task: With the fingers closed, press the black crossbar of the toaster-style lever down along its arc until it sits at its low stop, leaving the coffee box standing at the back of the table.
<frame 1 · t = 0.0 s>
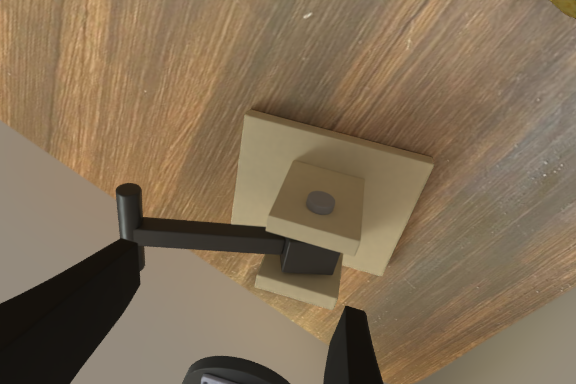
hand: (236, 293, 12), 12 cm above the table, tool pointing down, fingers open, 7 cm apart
bracket: (321, 194, 24), on the table
lever: (232, 237, 19), point 6 cm above the table, hinge at 18.0°
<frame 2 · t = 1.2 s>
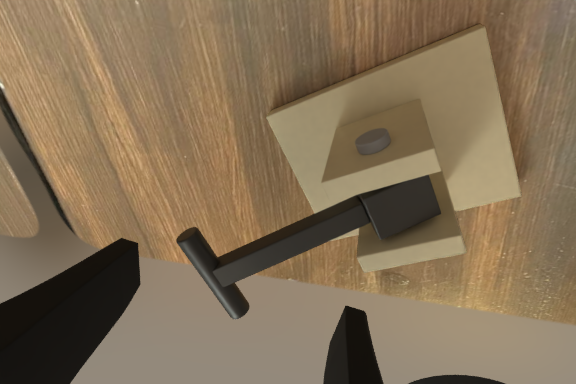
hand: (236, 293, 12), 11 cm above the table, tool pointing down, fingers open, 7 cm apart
bracket: (390, 148, 20), on the table
lever: (310, 232, 17), point 6 cm above the table, hinge at 18.0°
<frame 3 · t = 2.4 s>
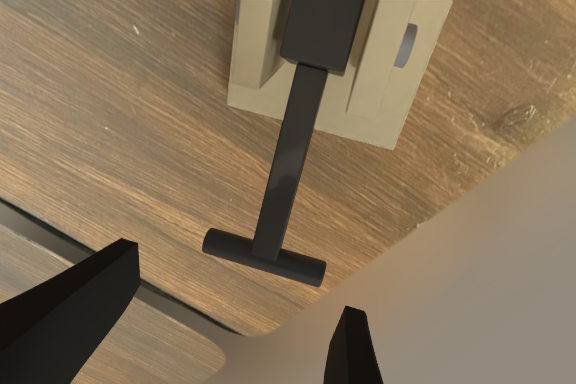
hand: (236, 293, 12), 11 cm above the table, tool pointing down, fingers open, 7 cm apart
bracket: (338, 10, 17), on the table
lever: (294, 140, 14), point 6 cm above the table, hinge at 18.0°
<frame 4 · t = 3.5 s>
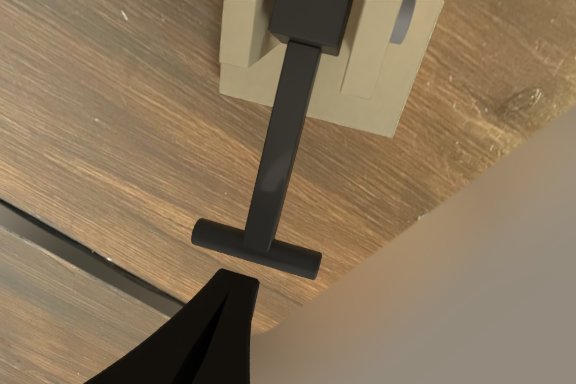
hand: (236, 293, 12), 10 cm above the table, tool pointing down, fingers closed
lever: (286, 124, 13), point 6 cm above the table, hinge at 18.0°
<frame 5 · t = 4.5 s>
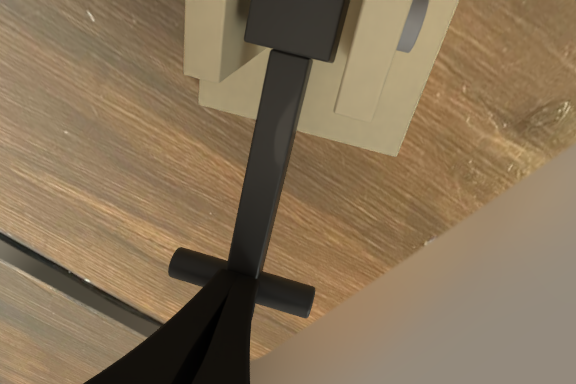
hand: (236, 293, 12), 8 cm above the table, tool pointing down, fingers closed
lever: (272, 146, 11), point 6 cm above the table, hinge at 13.1°, touching gripper
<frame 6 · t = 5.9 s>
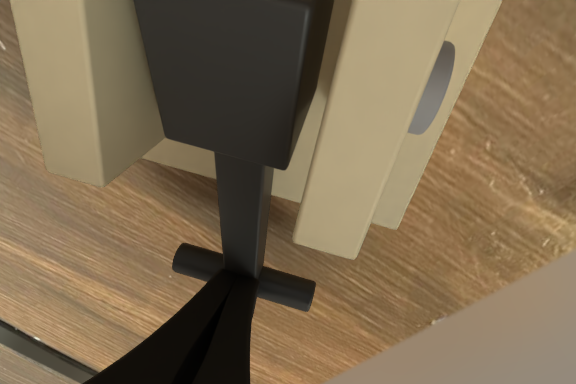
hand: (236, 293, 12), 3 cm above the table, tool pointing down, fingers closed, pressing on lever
bracket: (303, 11, 10), on the table
lever: (245, 194, 9), point 4 cm above the table, hinge at -19.5°, touching gripper
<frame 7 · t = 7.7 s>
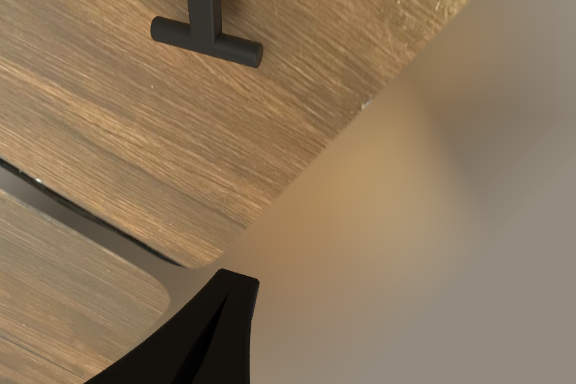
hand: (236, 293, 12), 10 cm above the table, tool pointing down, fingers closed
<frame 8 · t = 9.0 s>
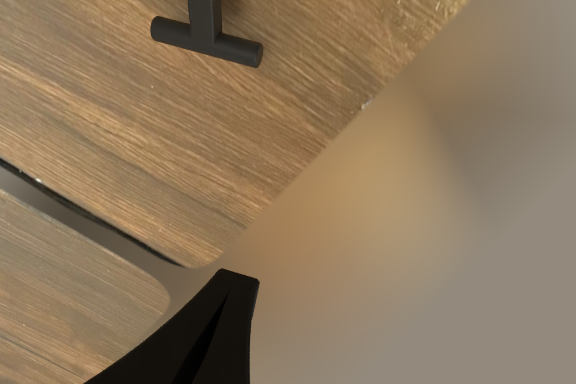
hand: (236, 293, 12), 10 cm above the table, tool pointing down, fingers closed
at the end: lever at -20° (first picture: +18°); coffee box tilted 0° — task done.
